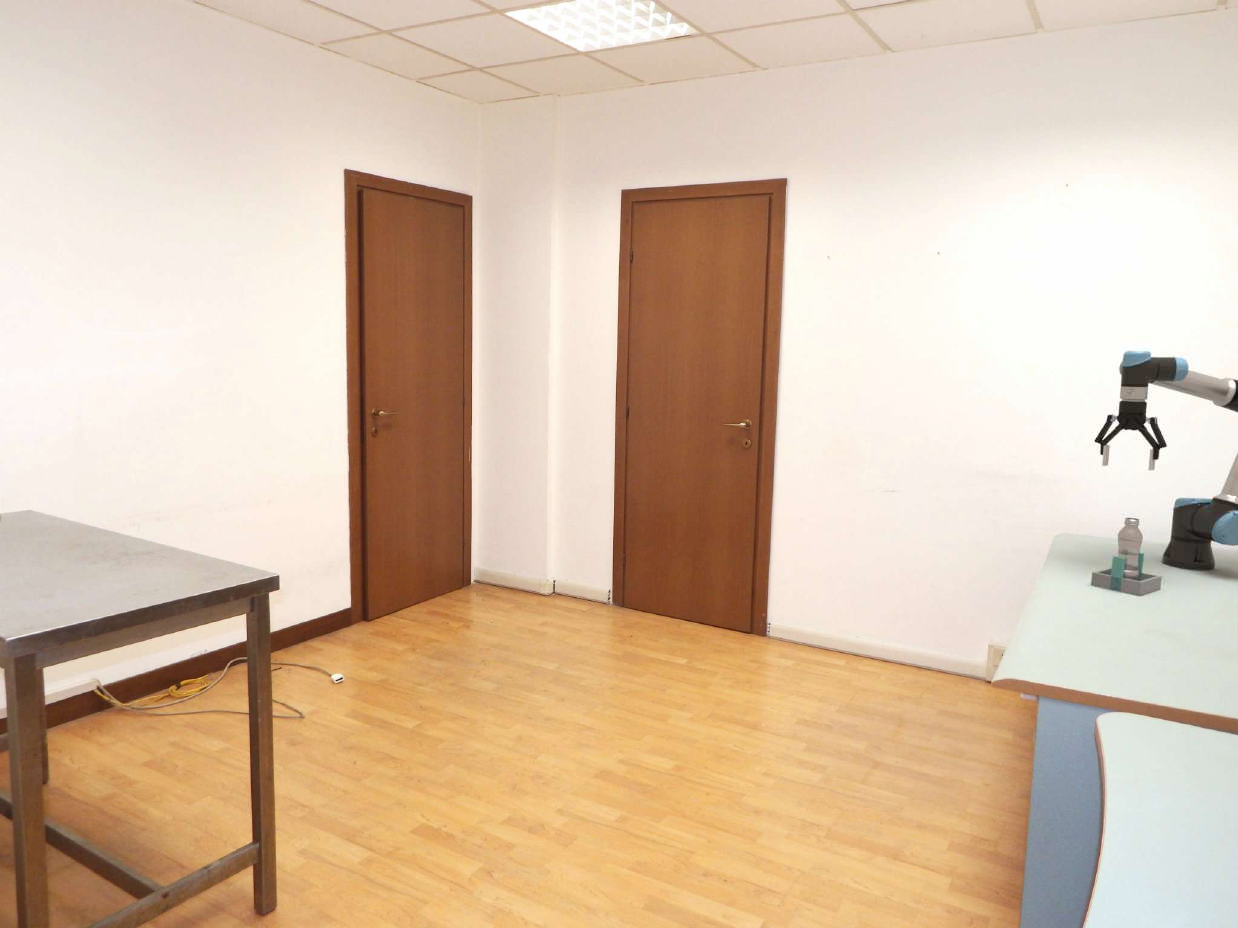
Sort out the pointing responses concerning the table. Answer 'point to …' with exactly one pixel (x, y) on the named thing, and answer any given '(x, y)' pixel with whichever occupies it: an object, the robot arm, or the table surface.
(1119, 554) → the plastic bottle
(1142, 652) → the table surface
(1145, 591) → the tray
